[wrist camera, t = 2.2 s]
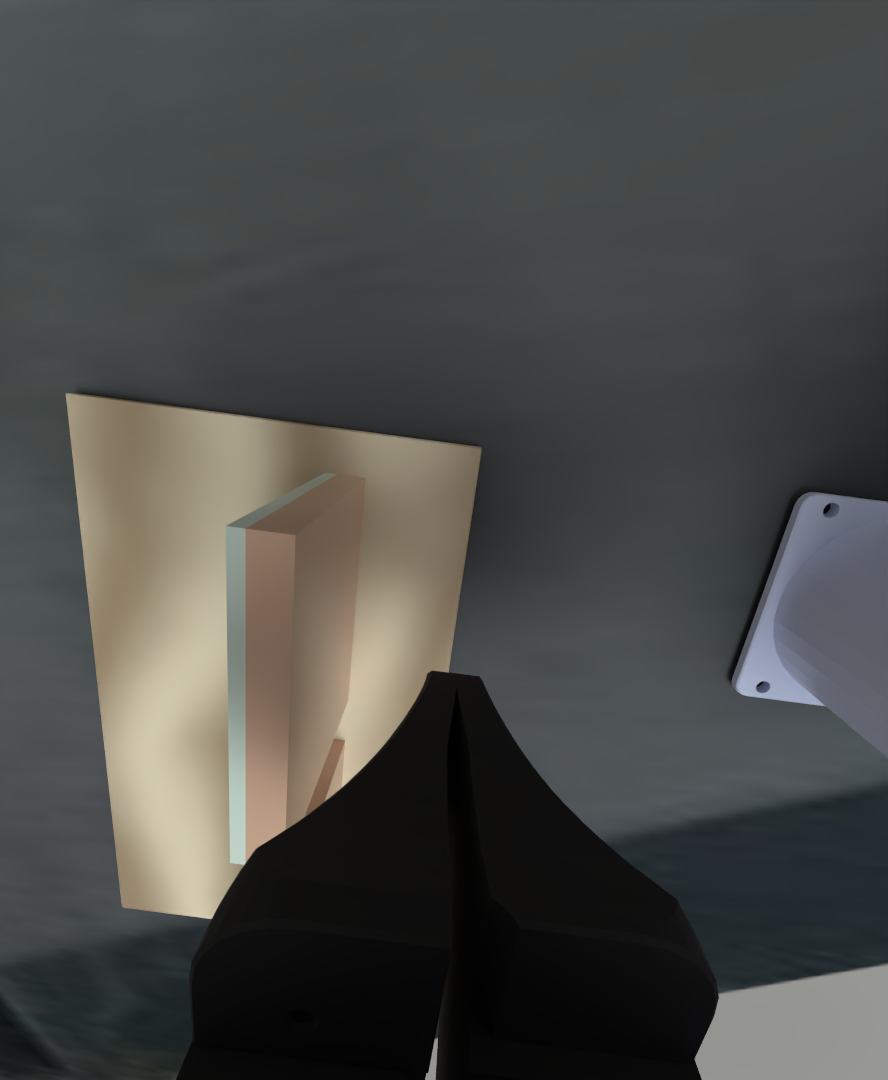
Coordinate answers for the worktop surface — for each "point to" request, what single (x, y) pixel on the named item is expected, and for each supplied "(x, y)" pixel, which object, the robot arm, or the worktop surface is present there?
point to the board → (201, 608)
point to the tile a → (288, 650)
